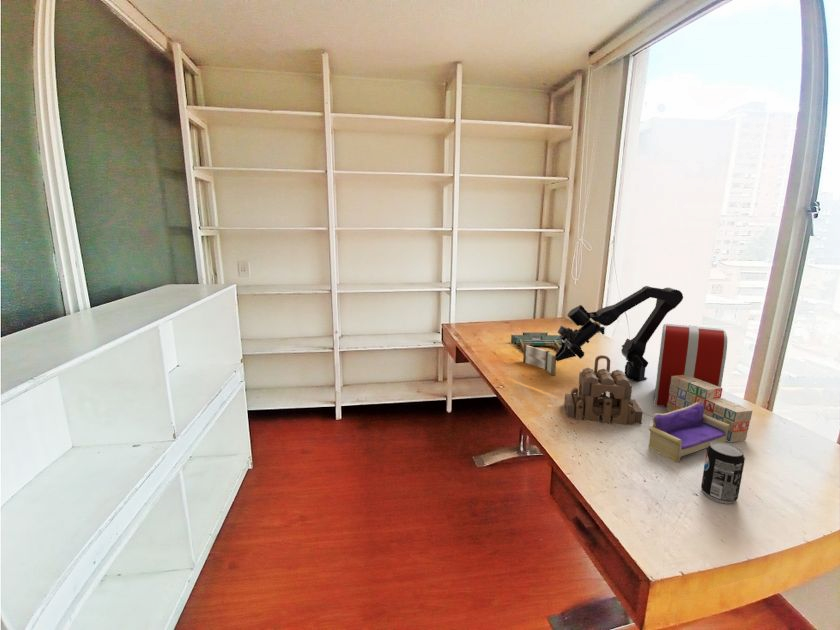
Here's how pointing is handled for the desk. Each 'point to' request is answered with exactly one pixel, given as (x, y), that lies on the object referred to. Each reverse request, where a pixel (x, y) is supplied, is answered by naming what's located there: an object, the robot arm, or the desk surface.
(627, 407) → the wooden puzzle
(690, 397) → the stack of blocks
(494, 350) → the desk surface
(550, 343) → the miniature gate
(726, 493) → the beverage can
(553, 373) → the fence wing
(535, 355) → the fence section
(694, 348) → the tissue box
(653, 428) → the toy sofa
